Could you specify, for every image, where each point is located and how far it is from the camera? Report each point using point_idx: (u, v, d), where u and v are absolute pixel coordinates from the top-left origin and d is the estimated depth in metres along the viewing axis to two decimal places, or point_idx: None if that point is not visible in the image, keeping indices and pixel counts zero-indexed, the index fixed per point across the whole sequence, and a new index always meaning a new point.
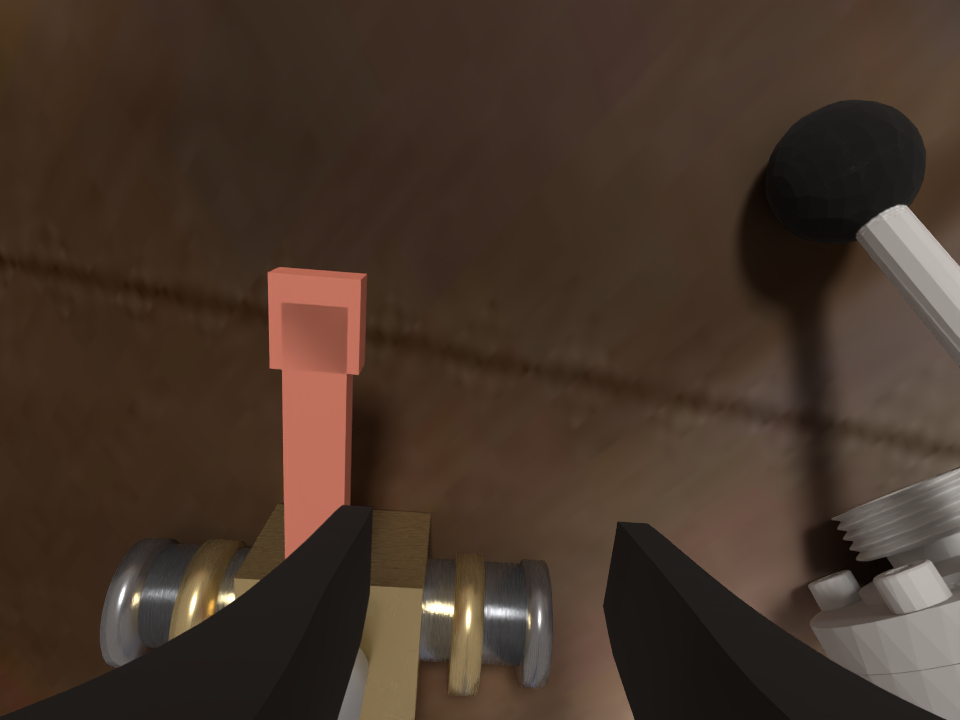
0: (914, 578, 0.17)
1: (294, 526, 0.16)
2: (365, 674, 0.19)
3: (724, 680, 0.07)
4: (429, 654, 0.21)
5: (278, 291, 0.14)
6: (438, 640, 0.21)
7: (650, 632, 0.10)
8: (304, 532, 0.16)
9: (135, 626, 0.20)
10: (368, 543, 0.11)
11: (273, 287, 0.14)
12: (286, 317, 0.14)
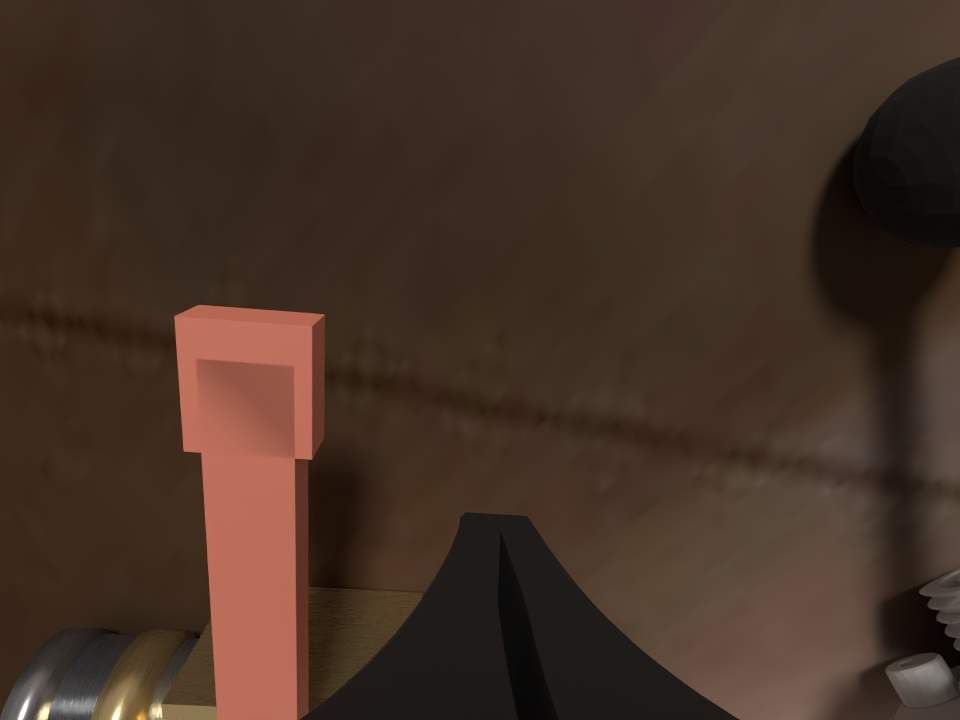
0: None
1: (227, 661, 0.12)
2: None
3: (533, 671, 0.07)
4: None
5: (191, 343, 0.10)
6: None
7: (505, 624, 0.10)
8: (242, 668, 0.12)
9: None
10: None
11: (183, 337, 0.10)
12: (204, 380, 0.10)
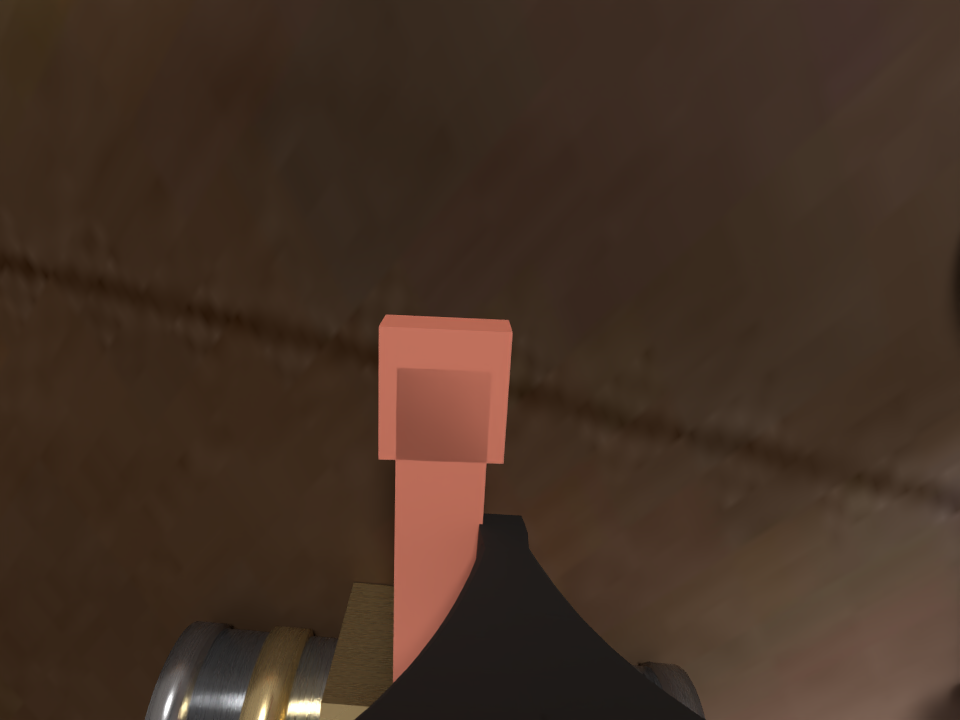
0: None
1: (406, 665, 0.12)
2: None
3: None
4: None
5: (393, 352, 0.10)
6: None
7: None
8: None
9: None
10: None
11: (386, 347, 0.10)
12: (403, 388, 0.10)
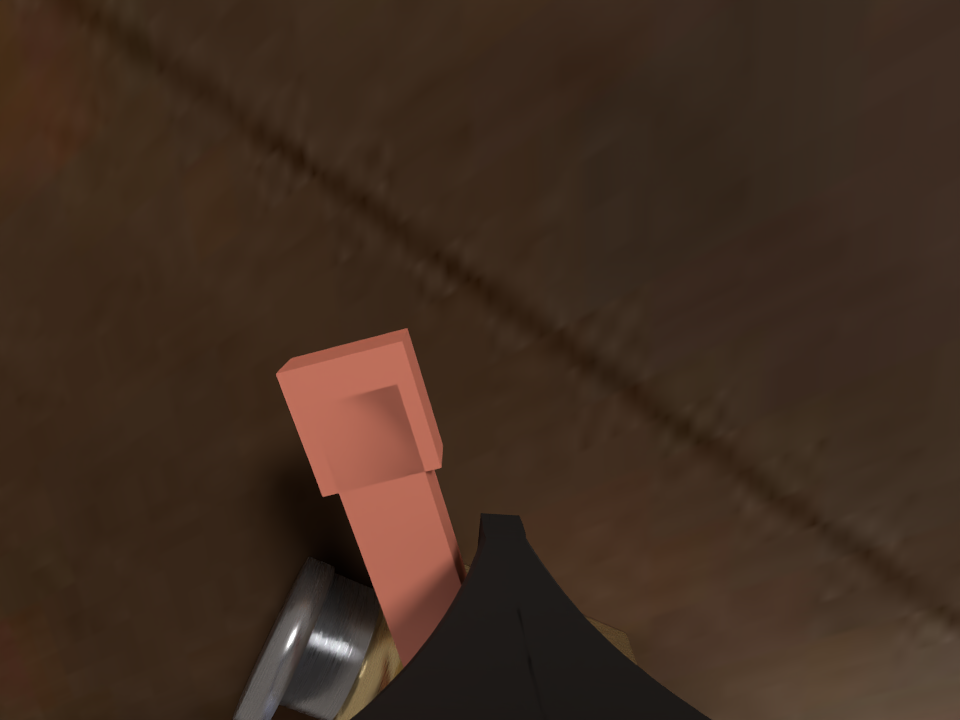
0: None
1: None
2: None
3: None
4: None
5: (298, 394, 0.10)
6: None
7: None
8: None
9: None
10: None
11: (290, 390, 0.10)
12: (320, 424, 0.10)
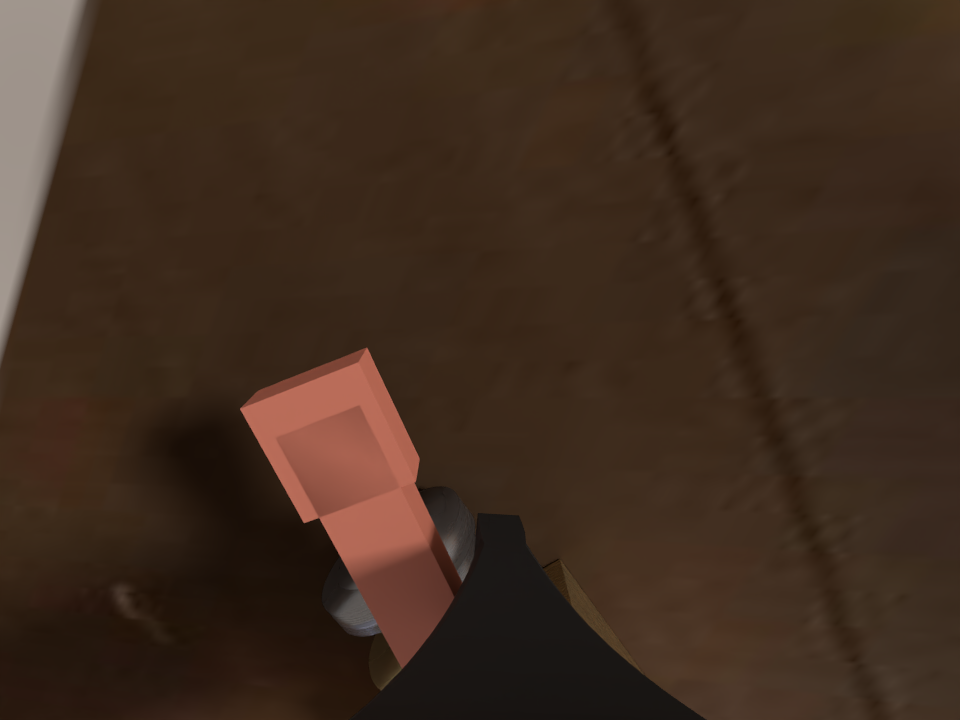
0: None
1: None
2: None
3: None
4: None
5: (265, 425, 0.10)
6: None
7: None
8: None
9: None
10: None
11: (256, 423, 0.10)
12: (291, 452, 0.10)
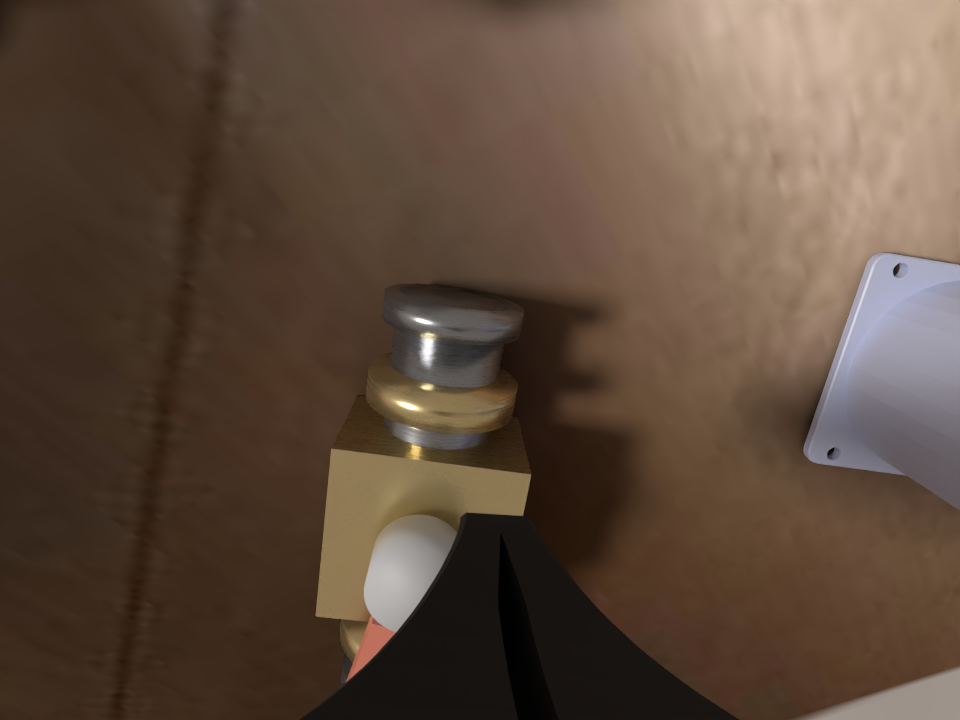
0: None
1: None
2: None
3: (533, 671, 0.07)
4: (451, 439, 0.18)
5: None
6: None
7: (505, 624, 0.10)
8: None
9: None
10: None
11: None
12: None
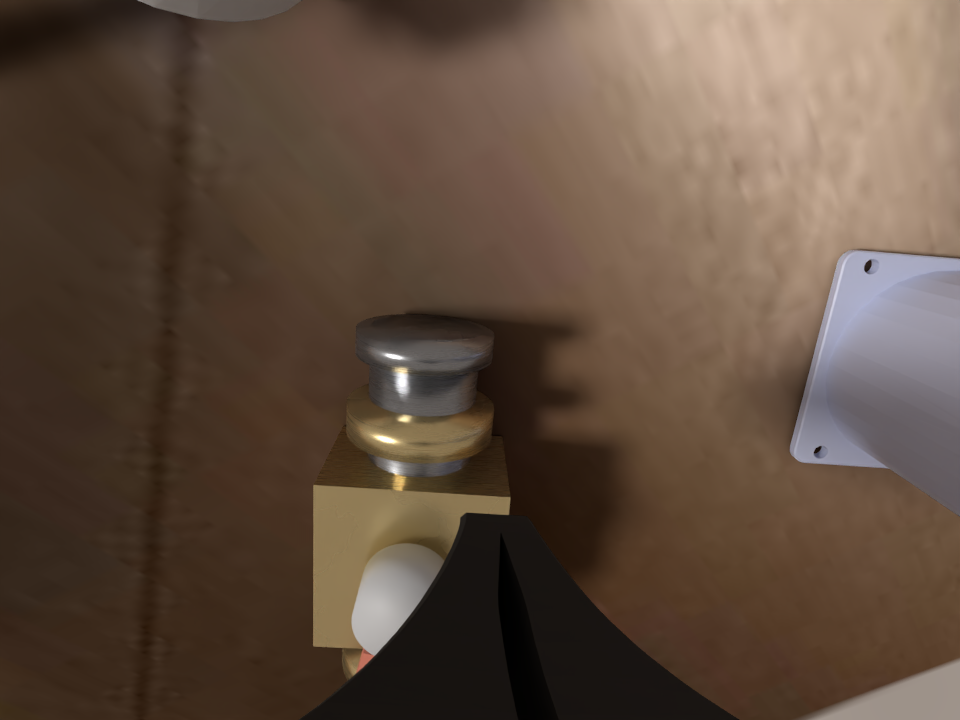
0: None
1: None
2: None
3: (533, 670, 0.07)
4: (432, 467, 0.19)
5: None
6: None
7: (505, 624, 0.10)
8: None
9: None
10: None
11: None
12: None
